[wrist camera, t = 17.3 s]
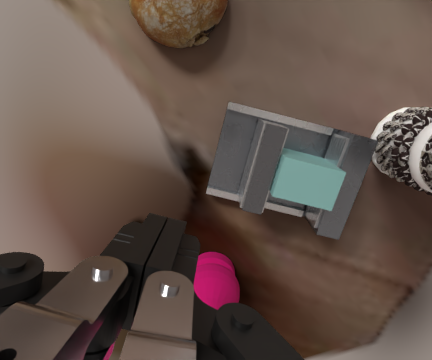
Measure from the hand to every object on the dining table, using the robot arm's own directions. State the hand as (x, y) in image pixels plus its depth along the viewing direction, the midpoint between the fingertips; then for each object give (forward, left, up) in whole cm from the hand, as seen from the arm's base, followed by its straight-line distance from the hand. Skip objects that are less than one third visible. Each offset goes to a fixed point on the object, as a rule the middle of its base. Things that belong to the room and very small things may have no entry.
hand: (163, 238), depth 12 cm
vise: (+9, 0, -25) cm, 27 cm away
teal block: (+11, 0, -24) cm, 26 cm away
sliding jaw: (+6, 0, -23) cm, 24 cm away
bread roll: (-7, +14, -25) cm, 30 cm away
